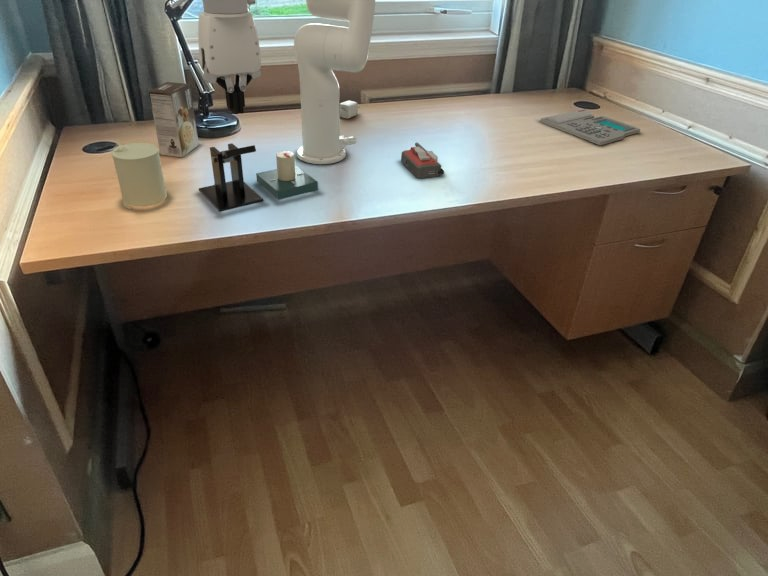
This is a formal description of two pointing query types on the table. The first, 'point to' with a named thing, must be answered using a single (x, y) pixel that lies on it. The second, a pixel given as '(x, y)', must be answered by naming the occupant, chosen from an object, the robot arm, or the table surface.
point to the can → (139, 174)
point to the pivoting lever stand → (228, 184)
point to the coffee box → (174, 118)
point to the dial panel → (287, 183)
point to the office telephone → (590, 126)
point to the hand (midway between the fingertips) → (236, 111)
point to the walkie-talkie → (421, 162)
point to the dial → (285, 165)
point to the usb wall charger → (348, 109)
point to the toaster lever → (236, 153)
